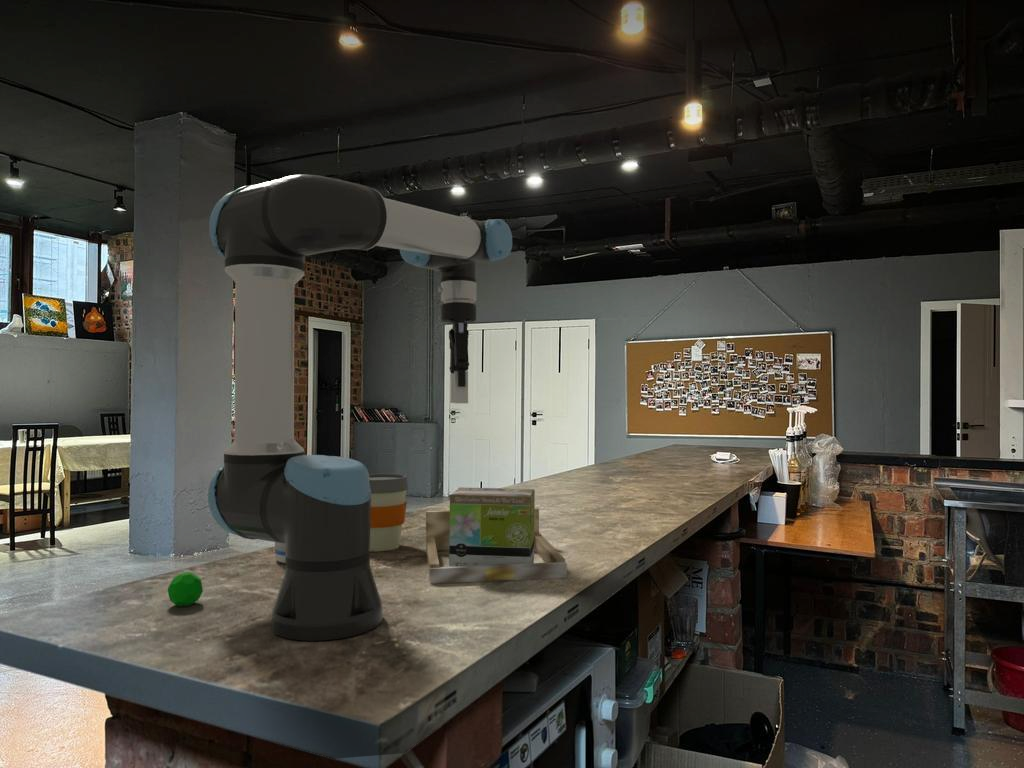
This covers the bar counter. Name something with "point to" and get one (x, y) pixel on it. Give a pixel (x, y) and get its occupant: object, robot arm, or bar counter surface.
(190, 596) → the polyhedron
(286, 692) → the bar counter surface
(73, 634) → the bar counter surface
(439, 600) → the bar counter surface
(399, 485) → the reusable coffee cup
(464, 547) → the tea box
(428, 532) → the open wooden storage bin
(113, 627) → the bar counter surface
